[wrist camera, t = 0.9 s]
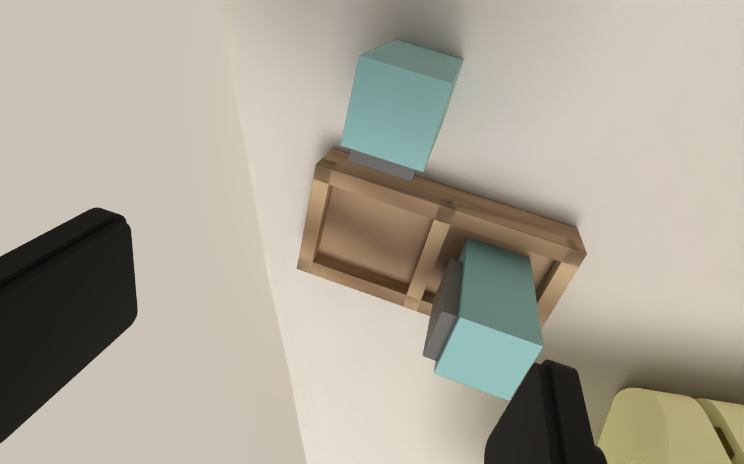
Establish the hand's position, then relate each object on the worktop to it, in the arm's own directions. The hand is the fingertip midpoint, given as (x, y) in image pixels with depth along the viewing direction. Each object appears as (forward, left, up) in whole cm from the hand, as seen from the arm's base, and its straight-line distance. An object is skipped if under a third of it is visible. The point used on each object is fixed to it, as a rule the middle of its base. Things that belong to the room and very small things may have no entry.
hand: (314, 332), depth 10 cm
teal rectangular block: (-2, -1, -20) cm, 20 cm away
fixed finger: (+8, +7, -18) cm, 20 cm away
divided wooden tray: (+8, +3, -20) cm, 21 cm away
